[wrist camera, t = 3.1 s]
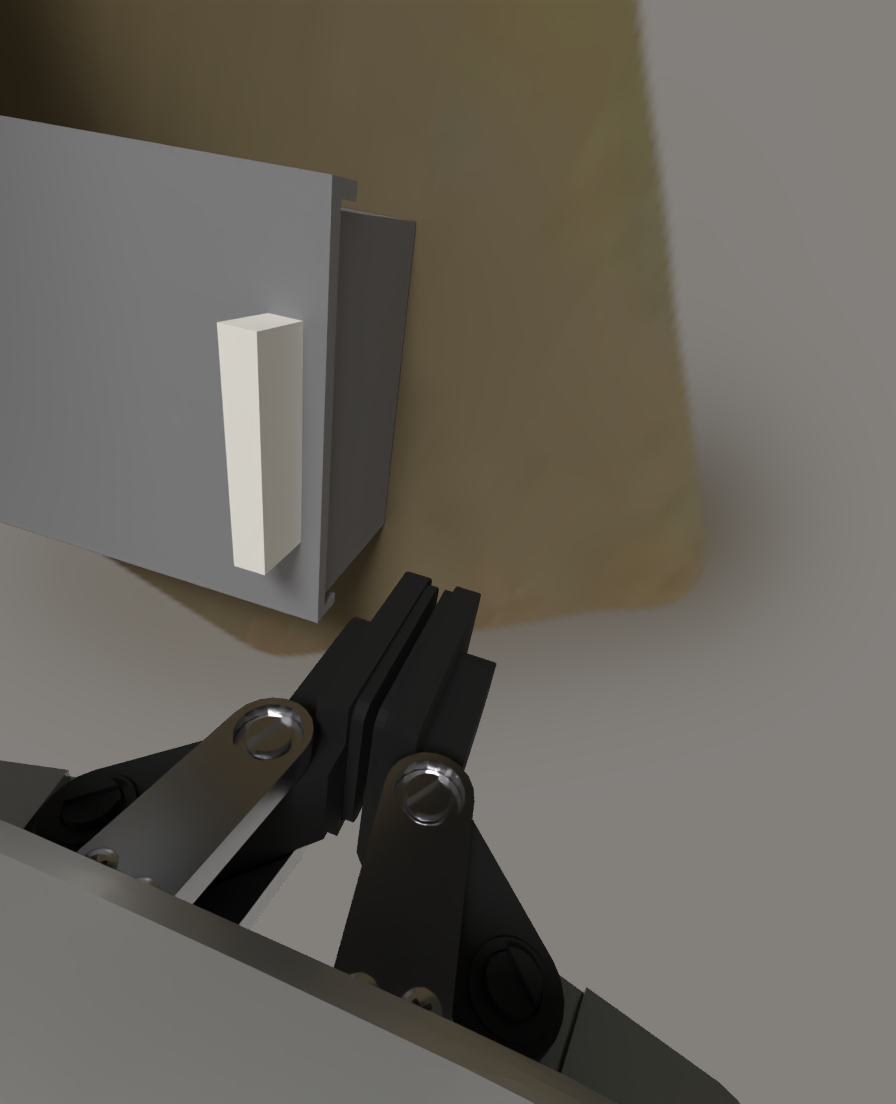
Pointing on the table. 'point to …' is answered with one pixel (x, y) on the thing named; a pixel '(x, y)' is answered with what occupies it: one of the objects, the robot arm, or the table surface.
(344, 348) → the base
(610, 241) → the table surface
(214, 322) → the lid
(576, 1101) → the robot arm
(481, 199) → the table surface
